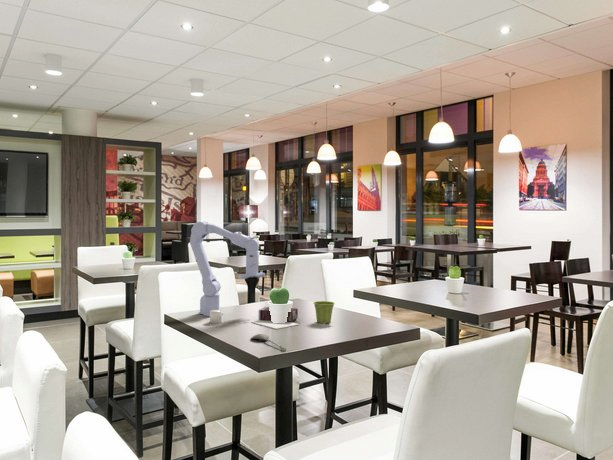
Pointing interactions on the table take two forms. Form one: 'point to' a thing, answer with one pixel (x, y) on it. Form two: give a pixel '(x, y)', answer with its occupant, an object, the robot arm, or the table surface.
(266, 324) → the mat
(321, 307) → the plant pot
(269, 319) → the supplement box
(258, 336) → the soupspoon
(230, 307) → the table surface
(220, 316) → the white small cube
